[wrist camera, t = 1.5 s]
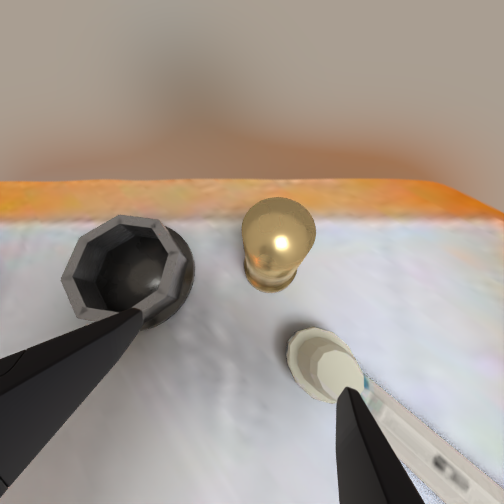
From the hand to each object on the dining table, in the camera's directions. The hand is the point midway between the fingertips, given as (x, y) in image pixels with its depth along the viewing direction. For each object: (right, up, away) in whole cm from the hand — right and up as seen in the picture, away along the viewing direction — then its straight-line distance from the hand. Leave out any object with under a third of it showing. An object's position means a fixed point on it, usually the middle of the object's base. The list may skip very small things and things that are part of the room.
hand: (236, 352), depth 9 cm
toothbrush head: (+14, -12, +10) cm, 21 cm away
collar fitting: (-12, +2, +15) cm, 19 cm away
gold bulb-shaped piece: (+3, +2, +15) cm, 15 cm away
